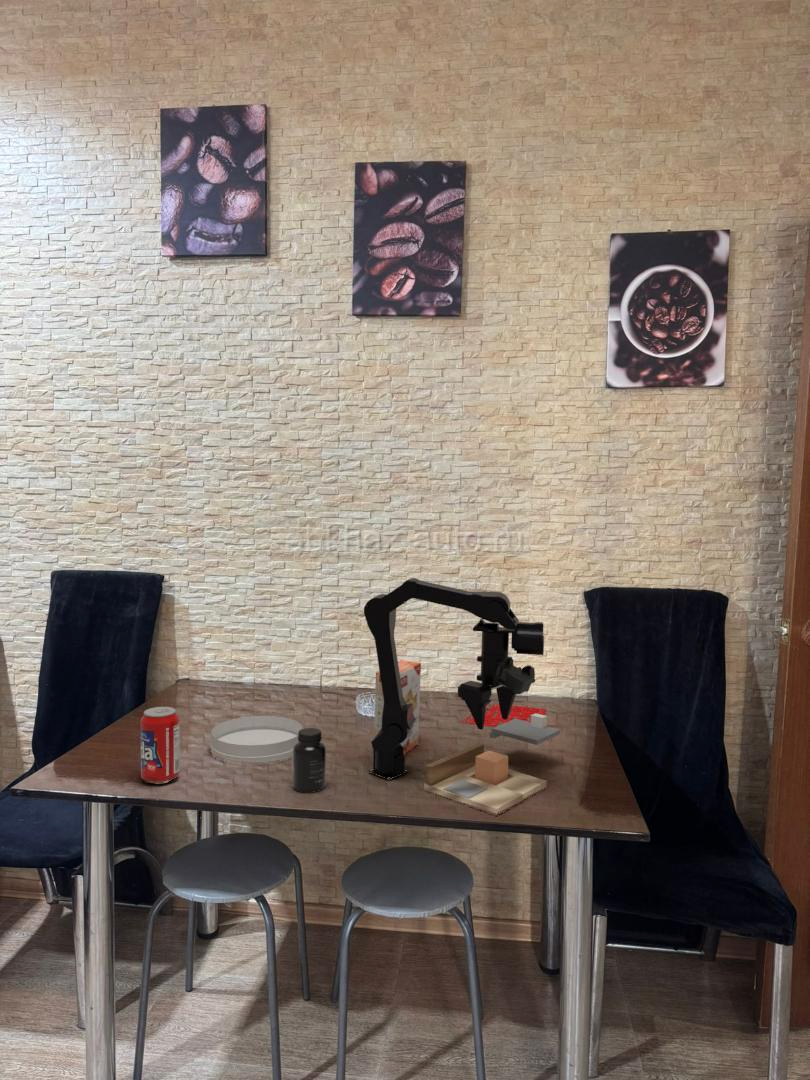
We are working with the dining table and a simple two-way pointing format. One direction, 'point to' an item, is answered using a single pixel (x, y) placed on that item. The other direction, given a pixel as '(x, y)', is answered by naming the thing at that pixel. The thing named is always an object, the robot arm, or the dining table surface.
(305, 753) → the supplement bottle
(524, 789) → the puzzle board
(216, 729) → the dish
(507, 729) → the sliding cover
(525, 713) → the maze puzzle
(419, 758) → the dining table surface
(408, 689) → the cracker box
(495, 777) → the block
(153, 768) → the soda can
